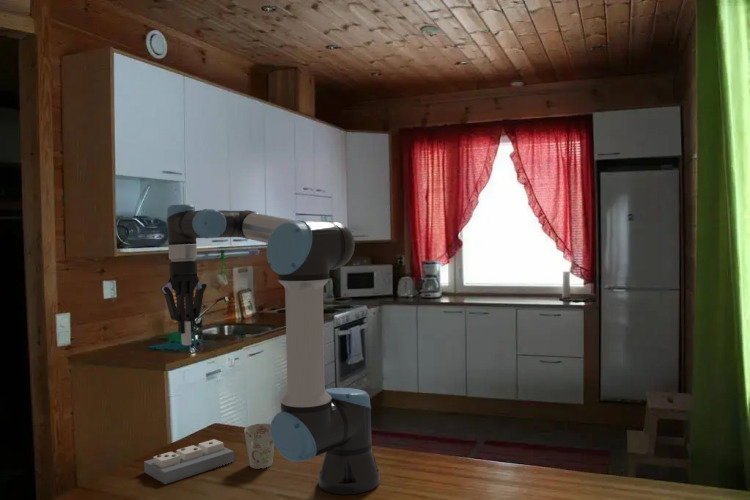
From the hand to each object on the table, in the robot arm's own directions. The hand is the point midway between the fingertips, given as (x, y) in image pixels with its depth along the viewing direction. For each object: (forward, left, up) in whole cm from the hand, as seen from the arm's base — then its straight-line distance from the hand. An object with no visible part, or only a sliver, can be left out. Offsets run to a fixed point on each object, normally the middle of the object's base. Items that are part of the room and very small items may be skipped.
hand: (186, 344), depth 170 cm
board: (-5, +3, -32) cm, 33 cm away
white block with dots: (-5, +10, -31) cm, 33 cm away
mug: (-20, -9, -33) cm, 39 cm away
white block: (-5, -4, -31) cm, 32 cm away
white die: (-5, +3, -31) cm, 32 cm away
